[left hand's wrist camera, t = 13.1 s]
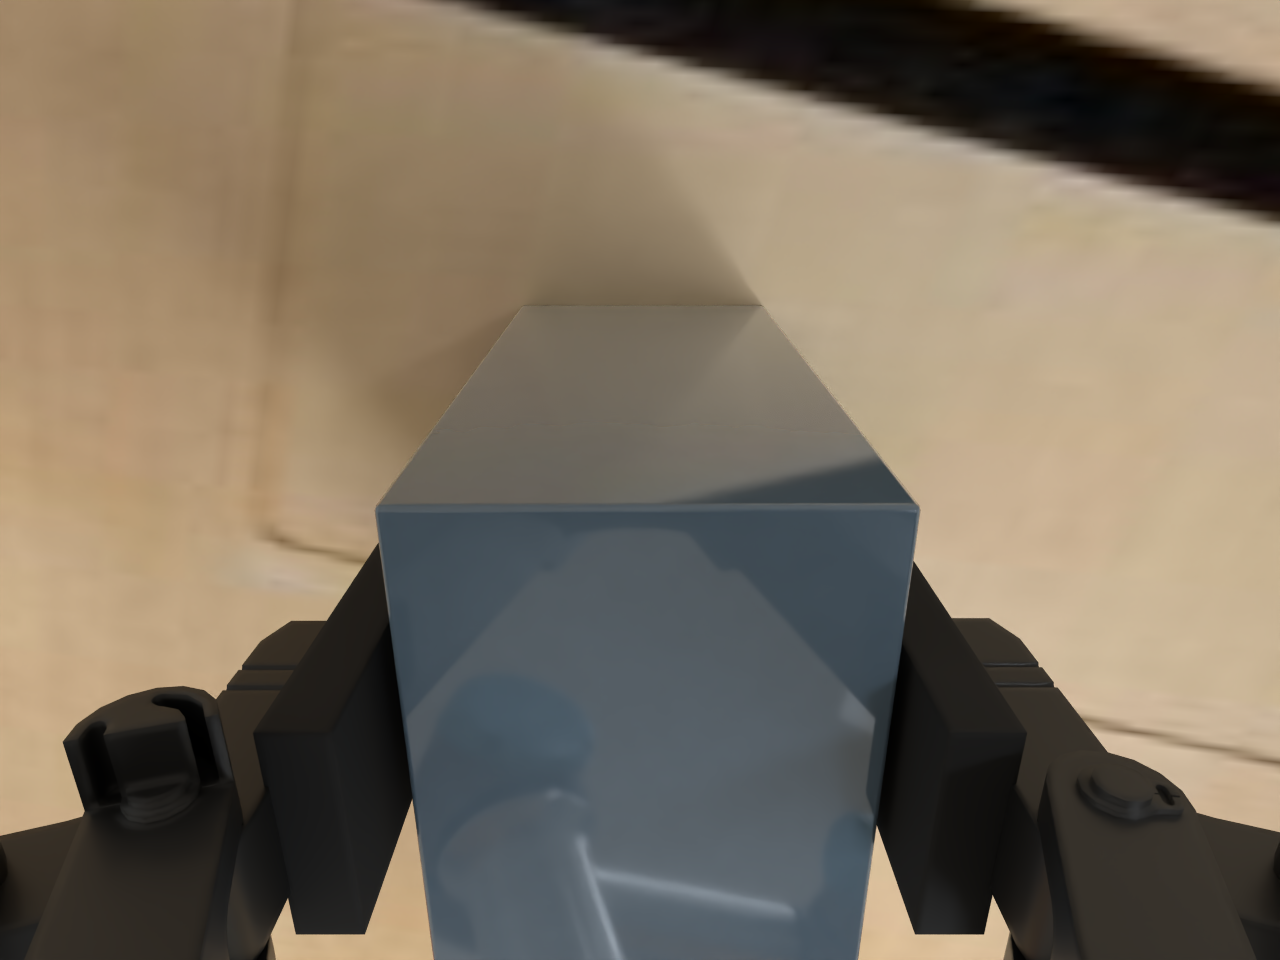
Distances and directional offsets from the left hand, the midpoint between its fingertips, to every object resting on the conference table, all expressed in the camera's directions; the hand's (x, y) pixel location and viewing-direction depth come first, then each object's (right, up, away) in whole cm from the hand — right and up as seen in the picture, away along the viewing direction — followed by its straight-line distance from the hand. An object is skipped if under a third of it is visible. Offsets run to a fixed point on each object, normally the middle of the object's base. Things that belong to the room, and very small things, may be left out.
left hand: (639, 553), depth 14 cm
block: (0, +2, +6) cm, 6 cm away
